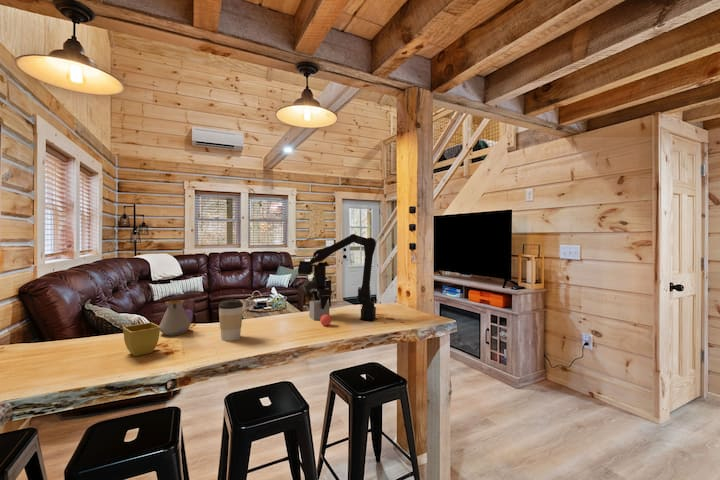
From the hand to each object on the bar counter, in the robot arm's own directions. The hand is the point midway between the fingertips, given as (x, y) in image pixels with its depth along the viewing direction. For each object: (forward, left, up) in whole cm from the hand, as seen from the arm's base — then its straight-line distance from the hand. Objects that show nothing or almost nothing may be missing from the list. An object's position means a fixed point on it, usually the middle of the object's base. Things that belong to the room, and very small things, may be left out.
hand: (319, 307), depth 161 cm
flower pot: (+20, +71, -6) cm, 74 cm away
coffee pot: (+29, +55, -6) cm, 62 cm away
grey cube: (0, 0, -5) cm, 5 cm away
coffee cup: (+9, +44, -6) cm, 45 cm away
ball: (-11, +9, -3) cm, 14 cm away
